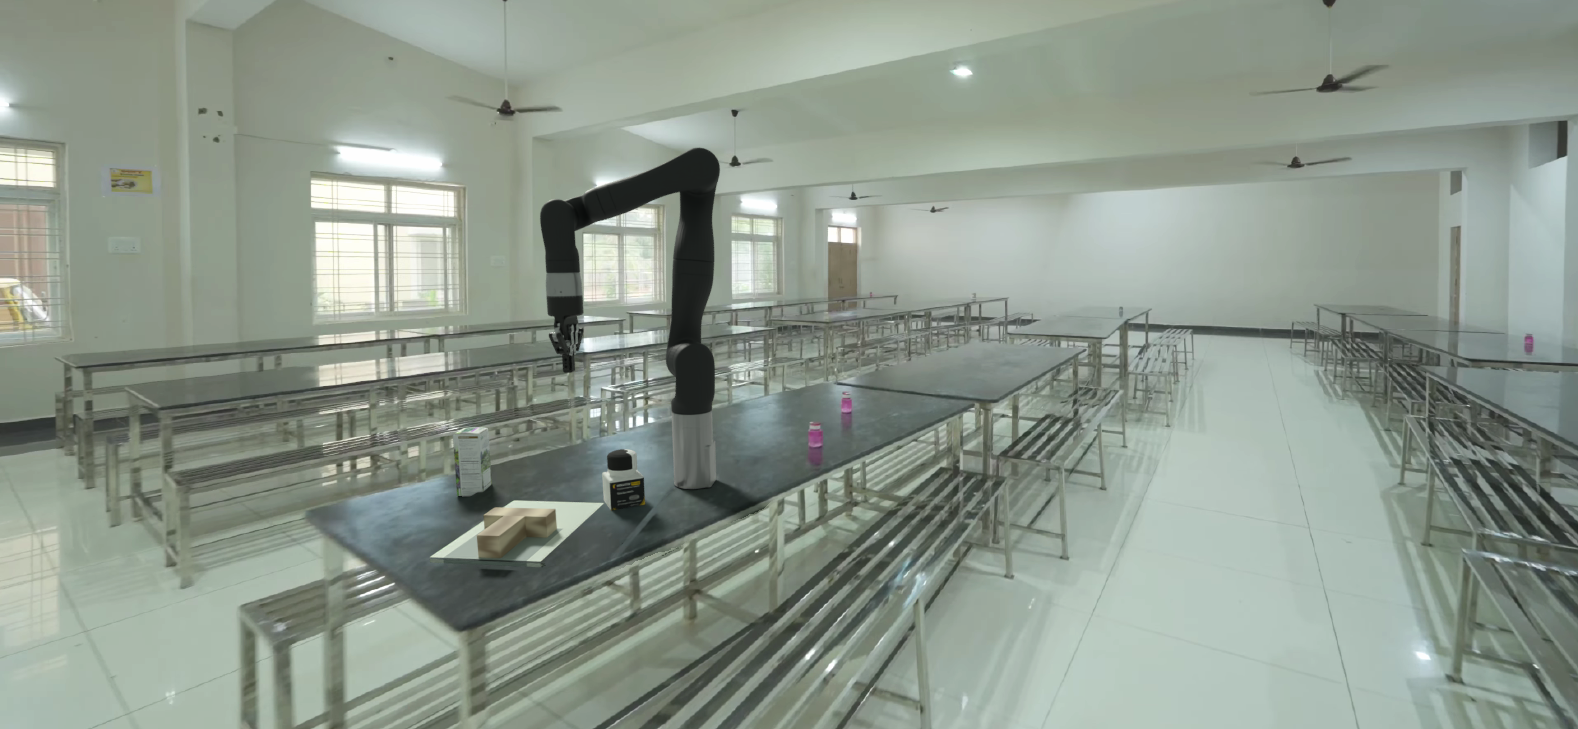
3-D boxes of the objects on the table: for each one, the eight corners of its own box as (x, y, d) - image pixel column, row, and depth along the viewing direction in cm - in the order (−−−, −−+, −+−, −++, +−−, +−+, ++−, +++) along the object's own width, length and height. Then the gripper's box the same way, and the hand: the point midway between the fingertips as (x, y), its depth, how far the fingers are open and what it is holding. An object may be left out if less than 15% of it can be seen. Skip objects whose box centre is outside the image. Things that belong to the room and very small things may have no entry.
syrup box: (466, 488, 153) (461, 427, 151) (493, 487, 153) (488, 426, 151) (456, 497, 147) (451, 433, 145) (484, 496, 148) (479, 432, 145)
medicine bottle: (611, 515, 135) (608, 458, 134) (603, 504, 142) (600, 449, 140) (645, 509, 139) (643, 453, 137) (636, 498, 145) (634, 445, 143)
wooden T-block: (556, 529, 126) (555, 508, 125) (523, 559, 113) (521, 536, 112) (496, 527, 127) (494, 507, 126) (456, 556, 114) (454, 534, 114)
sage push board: (604, 507, 140) (604, 503, 139) (541, 567, 112) (540, 561, 112) (514, 504, 142) (513, 500, 142) (430, 562, 114) (429, 557, 114)
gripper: (567, 295, 138) (572, 377, 141) (593, 292, 151) (597, 367, 154) (533, 295, 139) (538, 377, 142) (561, 292, 152) (566, 367, 155)
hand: (569, 372), depth 148 cm, fingers closed
